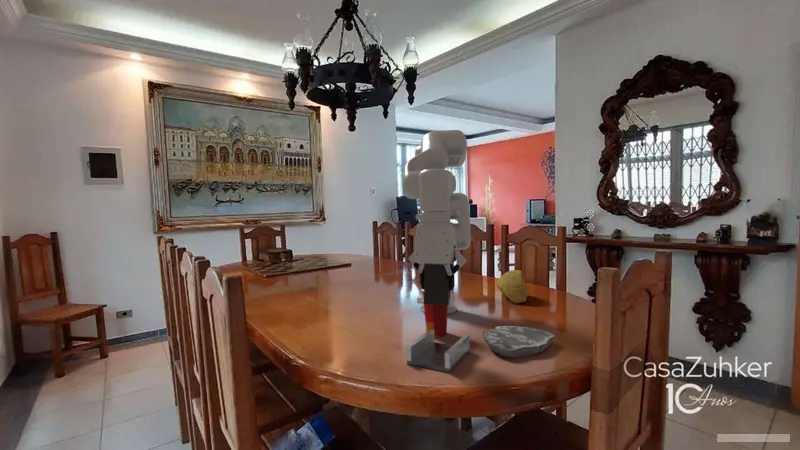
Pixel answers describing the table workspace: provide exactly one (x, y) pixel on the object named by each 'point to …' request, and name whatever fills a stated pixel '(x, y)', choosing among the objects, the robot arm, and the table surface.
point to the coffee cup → (436, 318)
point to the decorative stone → (513, 286)
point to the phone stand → (435, 285)
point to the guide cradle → (437, 352)
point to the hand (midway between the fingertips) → (437, 288)
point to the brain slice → (517, 340)
